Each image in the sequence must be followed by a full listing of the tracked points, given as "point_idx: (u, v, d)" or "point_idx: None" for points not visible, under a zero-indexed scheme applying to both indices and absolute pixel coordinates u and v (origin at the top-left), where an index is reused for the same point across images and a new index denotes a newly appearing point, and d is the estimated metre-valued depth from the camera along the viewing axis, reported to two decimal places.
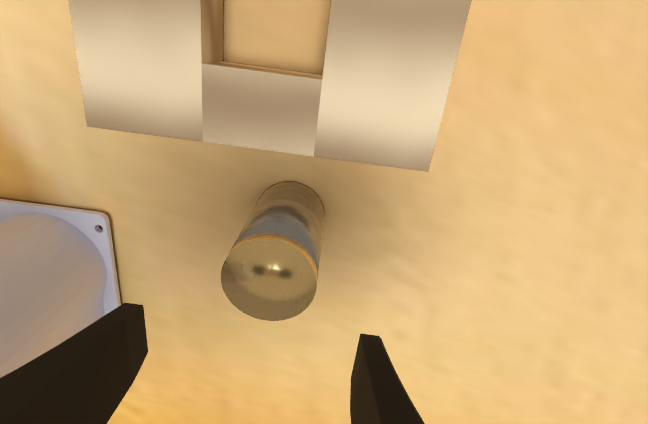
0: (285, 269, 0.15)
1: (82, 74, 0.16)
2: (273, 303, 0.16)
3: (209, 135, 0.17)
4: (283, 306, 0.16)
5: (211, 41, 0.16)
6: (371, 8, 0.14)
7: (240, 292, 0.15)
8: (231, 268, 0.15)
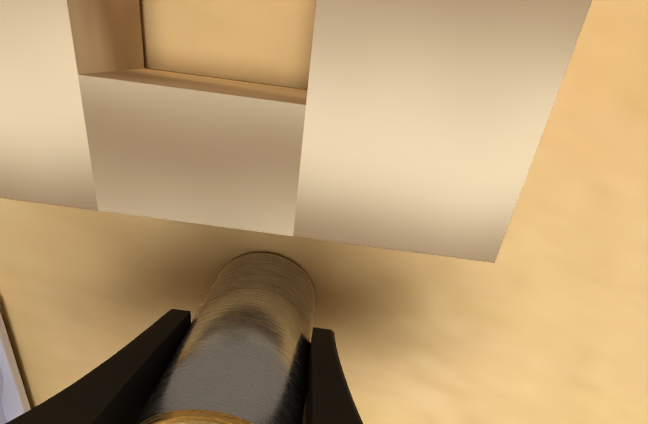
0: None
1: None
2: None
3: (108, 200, 0.09)
4: None
5: (107, 33, 0.09)
6: None
7: None
8: None
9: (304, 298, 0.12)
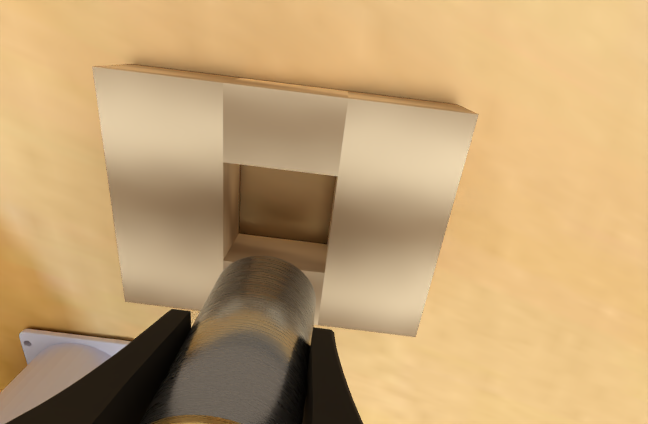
0: None
1: (122, 265, 0.19)
2: None
3: None
4: None
5: (230, 233, 0.19)
6: (365, 226, 0.17)
7: None
8: None
9: (303, 300, 0.13)
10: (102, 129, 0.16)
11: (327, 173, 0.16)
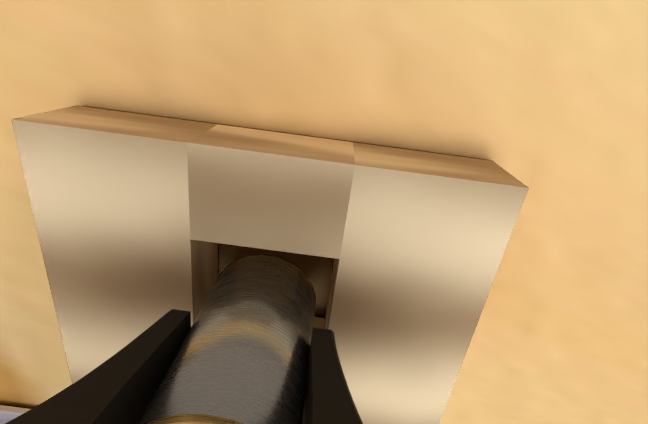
0: None
1: (68, 352, 0.15)
2: None
3: None
4: None
5: None
6: (373, 317, 0.13)
7: None
8: None
9: (303, 299, 0.13)
10: (31, 197, 0.12)
11: (326, 255, 0.12)
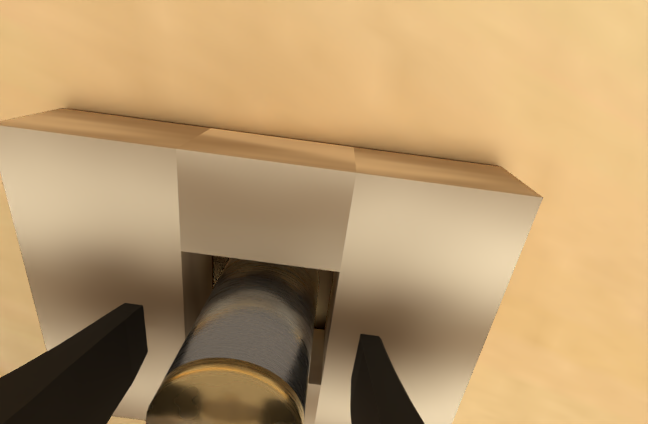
0: (249, 416, 0.09)
1: None
2: None
3: None
4: None
5: None
6: (376, 332, 0.13)
7: None
8: (161, 415, 0.09)
9: (308, 275, 0.14)
10: (10, 206, 0.11)
11: (325, 267, 0.12)
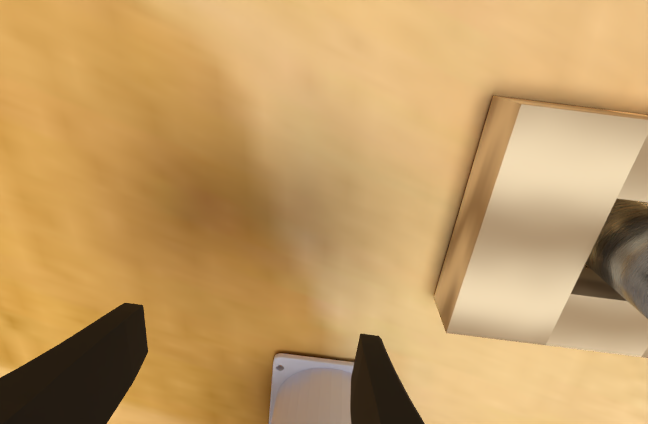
0: None
1: (456, 297, 0.19)
2: None
3: (553, 341, 0.19)
4: None
5: None
6: None
7: None
8: None
9: None
10: (503, 165, 0.16)
11: None
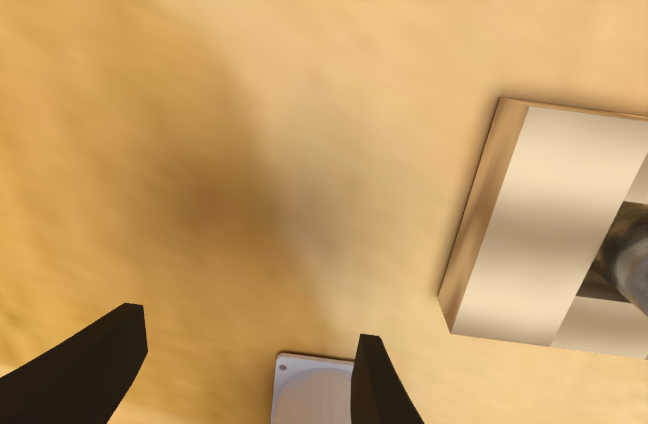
0: None
1: (461, 298, 0.19)
2: None
3: (557, 342, 0.19)
4: None
5: None
6: None
7: None
8: None
9: None
10: (510, 167, 0.16)
11: None
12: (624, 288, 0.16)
